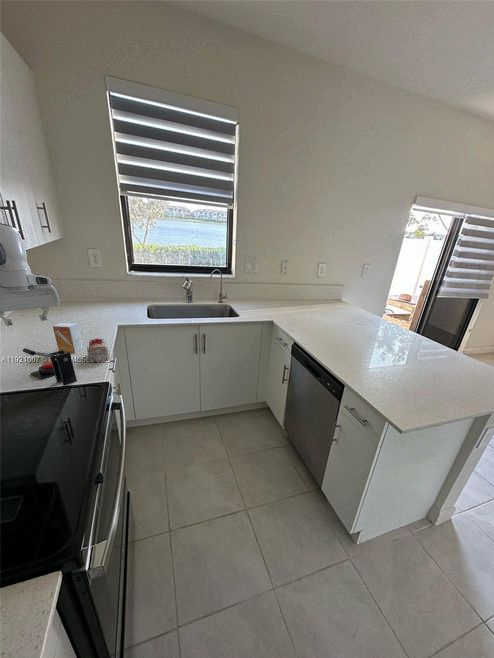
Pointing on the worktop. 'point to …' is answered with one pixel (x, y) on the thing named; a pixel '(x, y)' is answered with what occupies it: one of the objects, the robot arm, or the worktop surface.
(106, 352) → the food item
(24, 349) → the lever
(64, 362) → the bracket
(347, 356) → the worktop surface
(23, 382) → the worktop surface
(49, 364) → the button
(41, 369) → the control block
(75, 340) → the small box
